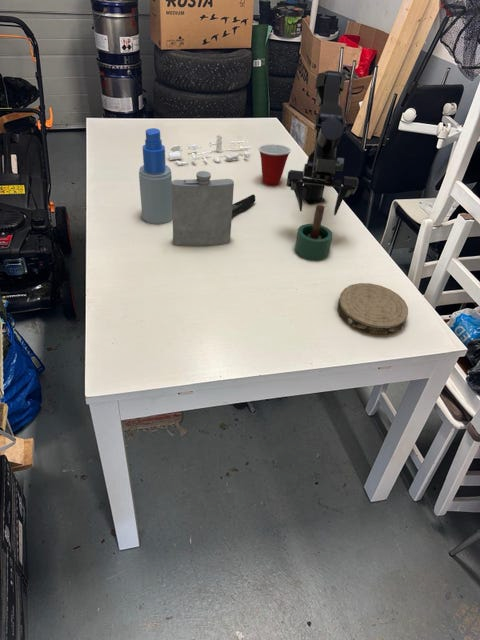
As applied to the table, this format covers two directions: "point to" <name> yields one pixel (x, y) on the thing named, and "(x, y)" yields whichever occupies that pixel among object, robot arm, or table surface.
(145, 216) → the spray bottle
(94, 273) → the table surface
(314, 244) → the round container
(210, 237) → the hip flask
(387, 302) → the wood slice coaster
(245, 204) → the electric trimmer
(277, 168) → the plastic cup
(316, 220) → the brown cylinder with base
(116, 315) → the table surface
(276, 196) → the table surface
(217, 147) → the miniature set
